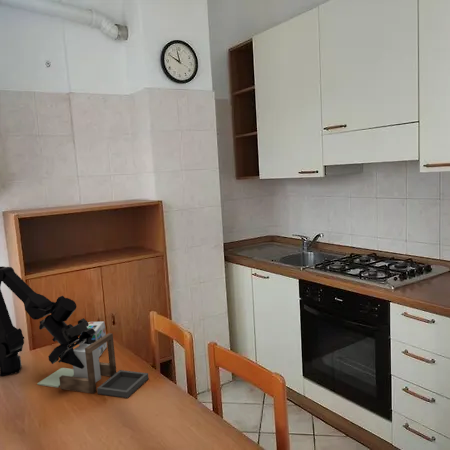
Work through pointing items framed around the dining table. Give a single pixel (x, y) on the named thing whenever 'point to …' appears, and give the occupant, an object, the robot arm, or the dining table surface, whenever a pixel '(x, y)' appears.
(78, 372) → the block
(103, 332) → the light bulb box
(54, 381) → the pad
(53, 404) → the dining table surface
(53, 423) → the dining table surface
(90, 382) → the wooden gate frame
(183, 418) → the dining table surface
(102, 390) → the box
